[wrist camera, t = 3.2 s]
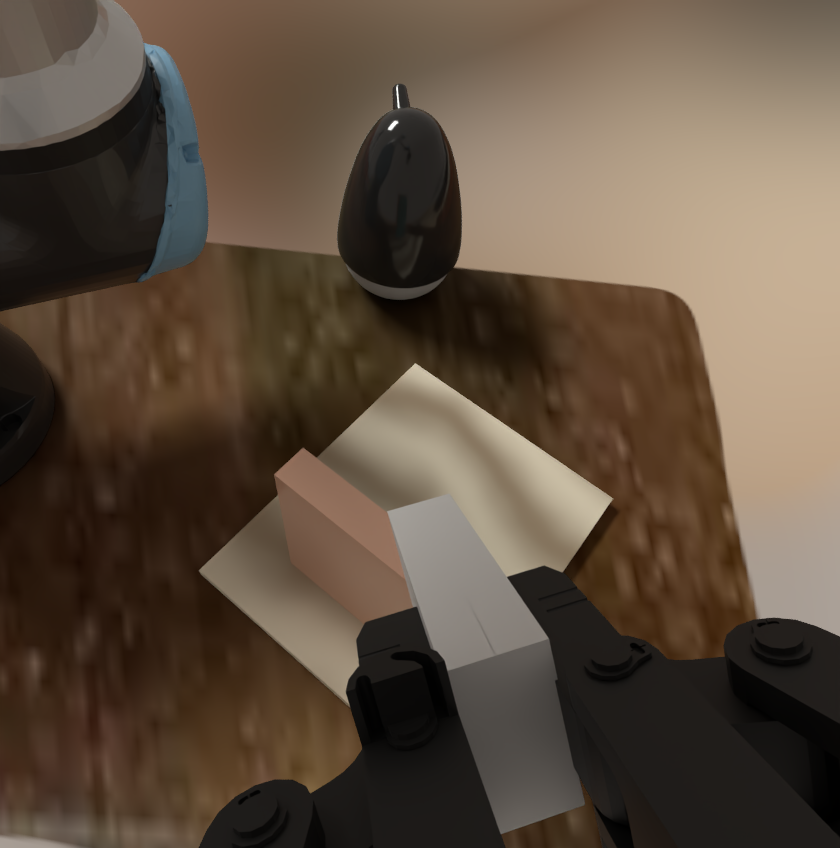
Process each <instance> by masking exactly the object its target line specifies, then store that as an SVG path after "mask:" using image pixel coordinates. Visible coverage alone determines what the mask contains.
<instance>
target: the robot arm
mask: <svg viewBox="0 0 840 848" xmlns="http://www.w3.org/2000/svg"><path fill="white" fill-rule="evenodd" d="M198 149H199V145H198V137H197V130H196V124H195V120H194V116H193V112H192V108H191V105H190V102H189V98H188V95H187V91H186V89H185V86H184V83H183V81H182V78H181V76H180V73H179V71H178V69H177V67H176V64H175V63H174V61H173V59H172V57H171V56H170V55H169V54H168V53H167V52H166V51H165V50H164V49H162V48H161V47H158V46H155V45H149V44H146V43H144V42H143V40H142V36H141V34H140V32H139V29H138V27H137V25H136V24H135V22H134V21H133V20H132V18H131V17H130V16H129V15H128V13H127V12H126V11H125V10H124V9H123V8H122V7H121V6H120V5H119V4H117V3H116V2H115V1H114V0H0V311H4V310H8V309H13V308H17V307H22V306H27V305H31V304H36V303H40V302H45V301H50V300H54V299H59V298H63V297H68V296H73V295H77V294H82V293H86V292H91V291H96V290H100V289H105V288H109V287H114V286H119V285H123V284H128V283H132V282H143V281H145V280H147V279H149V278H150V277H152V276H153V275H156V274H159V273H163V272H166V271H169V270H173V269H176V268H179V267H183V266H185V265H187V264H189V263H191V262H193V261H194V260H195V259H196V258H197V257H198V256H199V254H200V253H201V251H202V249H203V247H204V245H205V242H206V237H207V231H208V201H207V188H206V180H205V173H204V167H203V163H202V160H201V158H200V155H199V153H198ZM54 404H55V396H54V389H53V384H52V381H51V379H50V376H49V374H48V372H47V371H46V369H45V367H44V366H43V364H42V363H41V361H40V360H39V358H38V357H37V355H36V353H35V352H34V351H33V349H32V348H31V347H30V346H29V345H28V344H27V343H26V342H25V341H24V340H23V339H22V338H21V337H20V336H18V335H17V334H16V333H14V332H13V331H11V330H10V329H8V328H7V327H5V326H4V325H2V324H1V323H0V485H1V484H3V483H4V482H5V481H7V480H8V479H9V478H10V477H12V476H13V475H14V474H15V473H16V472H17V471H18V470H20V469H21V468H22V467H23V465H24V464H25V463H26V462H27V461H28V460H29V459H30V458H31V457H32V455H33V454H34V453H35V451H36V450H37V449H38V447H39V446H40V444H41V443H42V441H43V439H44V437H45V436H46V433H47V431H48V429H49V426H50V424H51V421H52V417H53V412H54ZM387 513H388V516H389V520H390V524H391V527H392V531H393V535H394V539H395V542H396V546H397V550H398V553H399V557H400V561H401V565H402V568H403V572H404V576H405V580H406V583H407V587H408V591H409V594H410V598H411V602H412V606H413V608H410V609H406V610H403V611H400V612H397V613H393V614H390V615H387V616H383V617H380V618H377V619H374V620H370V621H367V622H365V623H364V625H363V627H362V629H361V631H360V633H359V635H358V637H357V639H356V644H357V653H358V659H359V660H358V661H359V666H358V667H357V669H356V670H355V671H354V673H353V674H352V675H351V677H350V678H349V679H348V683H347V688H346V695H347V698H348V701H349V705H350V708H351V711H352V714H353V718H354V721H355V724H356V728H357V731H358V734H359V737H360V741H361V744H362V750H361V752H360V753H359V755H358V756H357V758H356V759H355V761H354V762H353V763H352V764H351V765H350V766H349V767H348V768H347V769H346V770H345V771H344V772H343V773H341V774H340V775H339V776H337V777H336V778H335V779H333V780H332V781H330V782H329V783H327V784H326V785H324V786H322V787H321V788H319V789H317V790H316V791H314V792H312V793H311V794H310V793H309V791H308V789H307V787H306V786H304V785H302V784H300V783H298V782H296V781H294V780H272V781H268V782H265V783H262V784H258V785H255V786H253V787H252V788H250V789H248V790H246V791H245V792H243V793H241V794H240V795H238V796H236V797H235V798H234V799H233V800H231V801H230V802H229V803H228V804H227V805H226V806H225V807H224V808H223V809H222V810H221V811H220V812H219V813H218V814H217V816H216V817H215V819H214V820H213V822H212V823H211V825H210V826H209V828H208V829H207V831H206V833H205V835H204V837H203V840H202V842H201V844H200V846H199V848H505V845H504V842H503V839H502V836H501V834H503V833H506V832H509V831H511V830H514V829H517V828H520V827H523V826H526V825H529V824H531V823H534V822H537V821H540V820H543V819H546V818H549V817H552V816H554V815H557V814H560V813H563V812H566V811H569V810H572V809H575V808H577V807H580V806H583V805H585V802H584V797H583V793H582V788H581V784H580V779H581V781H582V783H583V784H584V786H585V788H586V790H587V792H588V794H589V795H590V797H591V799H592V801H593V806H594V810H595V815H596V820H597V824H598V829H599V834H600V838H601V843H602V848H840V637H839V636H837V635H835V634H833V633H830V632H828V631H826V630H823V629H821V628H819V627H817V626H814V625H810V624H807V623H804V622H801V621H798V620H791V619H781V618H766V619H757V620H752V621H749V622H746V623H743V624H741V625H738V626H736V627H735V628H734V629H733V630H732V631H731V632H729V633H728V634H727V636H726V639H725V643H724V652H725V657H717V658H706V659H695V660H670V659H667V658H666V657H665V656H664V655H663V654H662V653H661V652H660V651H659V650H658V649H657V648H655V647H654V646H652V645H651V644H649V643H648V642H646V641H645V640H641V639H638V638H634V637H631V636H621V635H620V634H619V633H618V632H617V631H616V630H615V628H614V627H613V626H612V625H611V624H610V623H609V622H608V621H607V620H606V618H605V617H604V616H603V615H602V614H601V613H600V612H599V611H598V610H597V608H596V607H595V606H594V605H593V604H592V603H591V602H590V601H588V600H587V597H586V596H585V595H584V594H583V593H582V592H581V591H580V590H578V589H577V586H576V585H575V584H574V583H573V582H572V581H571V580H570V579H569V578H568V576H567V575H566V574H565V573H562V572H560V571H557V570H555V569H552V568H550V567H547V566H545V565H544V566H541V567H537V568H534V569H531V570H527V571H524V572H521V573H518V574H514V575H511V576H508V577H506V575H505V574H504V572H503V571H502V570H501V568H500V567H499V565H498V564H497V562H496V561H495V559H494V558H493V556H492V555H491V553H490V552H489V551H488V549H487V548H486V546H485V545H484V543H483V542H482V540H481V539H480V537H479V536H478V534H477V533H476V532H475V530H474V529H473V527H472V526H471V524H470V523H469V521H468V520H467V518H466V517H465V516H464V514H463V513H462V511H461V510H460V508H459V507H458V505H457V504H456V502H455V501H454V499H453V498H452V497H451V495H450V494H446V495H442V496H439V497H435V498H432V499H428V500H425V501H421V502H418V503H414V504H411V505H407V506H404V507H401V508H397V509H394V510H390V511H387ZM579 777H580V779H579Z"/></svg>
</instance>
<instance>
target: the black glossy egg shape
mask: <svg viewBox="0 0 840 848" xmlns="http://www.w3.org/2000/svg"><path fill="white" fill-rule="evenodd" d="M392 94H393V110H391V111H389V112H387V113H386V114H384V115H383V116H382V117H381V118H380V119H379V120H378V121H377V122H376V123H375V125H374V126H373V127H372V129H371V130H370V132H369V133H368V134H367V136H366V138H365V139H364V141H363V143H362V145H361V147H360V149H359V152H358V154H357V156H356V159H355V162H354V164H353V167H352V170H351V173H350V175H349V179H348V182H347V185H346V189H345V192H344V196H343V200H342V206H341V210H340V216H339V221H338V231H337V241H338V242H337V243H338V249H339V252H340V255H341V257H342V259H343V260H344V262H345V263H346V266H347V268H348V270H349V272H350V273H351V275H352V276H353V277H354V279H355V280H356V281H357V282H358V283H359V284H360V285H361V286H362V287H363V288H365V289H366V290H368V291H369V292H371V293H373V294H375V295H377V296H380V297H383V298H387V299H393V300H406V299H412V298H416V297H419V296H422V295H424V294H426V293H428V292H430V291H431V290H433V289H434V288H435V287H437V286H438V285H439V284H440V283H441V282H442V281H443V279H444V278H445V277H446V275H447V274H448V273H449V272H450V271H451V270H452V268H453V267H454V266H455V264H456V262H457V260H458V257H459V252H460V247H461V237H462V211H461V197H460V189H459V181H458V175H457V169H456V164H455V160H454V156H453V152H452V149H451V146H450V144H449V141H448V139H447V137H446V134H445V132H444V131H443V129H442V127H441V126H440V124H439V123H438V121H437V120H436V119H435V118H434V117H433V116H432V115H430V114H429V113H427V112H426V111H424V110H421V109H418V108H414V107H410V103H409V98H408V93H407V88H406V86H405V85H403V84H396V85H395V86H394V87H393V91H392Z"/></svg>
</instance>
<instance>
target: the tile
mask: <svg viewBox="0 0 840 848" xmlns="http://www.w3.org/2000/svg"><path fill="white" fill-rule="evenodd" d="M274 477H275V482H276V487H277V492H278V498H279V503H280V508H281V513H282V518H283V524H284V529H285V534H286V539H287V545H288V550H289V555H290V560H291V563H292V564H293V565H294V566H295V567H296V568H298V569H299V570H300V571H301V572H302V573H304V574H305V575H306V576H307V577H308V578H310V579H311V580H312V581H313V582H314V583H315V584H317V585H318V586H319V587H320V588H321V589H323V590H324V591H325V592H326V593H327V594H329V595H330V596H331V597H332V598H333V599H334V600H336V601H337V602H338V603H339V604H340V605H342V606H343V607H344V608H345V609H346V610H348V611H349V612H350V613H351V614H352V615H353V616H355V617H356V618H357V619H358V620H359V621H361V622H362V623H363V624H364V623H365V622H367V621H370V620H374V619H377V618H380V617H383V616H387V615H390V614H393V613H397V612H400V611H403V610H406V609H410V608H413V606H412V602H411V598H410V594H409V591H408V587H407V583H406V580H405V576H404V572H403V568H402V565H401V561H400V557H399V553H398V550H397V546H396V542H395V539H394V535H393V531H392V527H391V524H390V520H389V516H388V513H387V512H386V511H384V510H383V509H382V508H381V507H379V506H378V505H377V504H375V503H374V502H373V501H371V500H370V499H369V498H368V497H366V496H365V495H364V494H362V493H361V492H360V491H359V490H357V489H356V488H355V487H353V486H352V485H351V484H349V483H348V482H347V481H346V480H344V479H343V478H342V477H340V476H339V475H338V474H337V473H335V472H334V471H333V470H331V469H330V468H329V467H327V466H326V465H325V464H324V463H322V462H321V461H320V460H318V459H317V458H316V457H315V456H313V455H312V454H311V453H309V452H308V451H307V450H305V449H304V448H302V449H301V450H300V451H299V452H298V453H297V454H296V455H295V456H294V457H292V458H291V459H290V460H289V461H288V462H287V463H286V464H285V465H284V466H283V467H282V468H281V469H280V470H279V471H277V472H276V473H275V474H274Z"/></svg>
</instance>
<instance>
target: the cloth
mask: <svg viewBox="0 0 840 848" xmlns="http://www.w3.org/2000/svg"><path fill="white" fill-rule="evenodd" d="M317 459H318V460H320V461H321V462H322V463H324V464H325V465H326V466H327V467H329V468H330V469H331V470H333V471H334V472H335V473H337V474H338V475H339V476H340V477H342V478H343V479H344V480H346V481H347V482H348V483H349V484H351V485H352V486H353V487H355V488H356V489H357V490H359V491H360V492H361V493H362V494H364V495H365V496H366V497H368V498H369V499H370V500H371V501H373V502H374V503H375V504H377V505H378V506H379V507H381V508H382V509H383V510H384V511H386V512H387V511H390V510H394V509H397V508H401V507H404V506H407V505H411V504H414V503H418V502H421V501H425V500H428V499H432V498H435V497H439V496H442V495H446V494H450V495H451V497H452V498H453V499H454V501H455V502H456V504H457V505H458V507H459V508H460V510H461V511H462V513H463V514H464V516H465V517H466V518H467V520H468V521H469V523H470V524H471V526H472V527H473V529H474V530H475V532H476V533H477V534H478V536H479V537H480V539H481V540H482V542H483V543H484V545H485V546H486V548H487V549H488V551H489V552H490V553H491V555H492V556H493V558H494V559H495V561H496V562H497V564H498V565H499V567H500V568H501V570H502V571H503V572H504V574H505V575H506V577H508V576H511V575H514V574H518V573H521V572H524V571H527V570H531V569H534V568H537V567H541V566H544V565H545V566H547V567H550V568H552V569H555V570H557V571H560V572H562V573H563V571H564V570H565V568H566V567H567V565H568V564H569V562H570V561H571V559H572V558H573V556H574V555H575V554H576V552H577V551H578V549H579V548H580V546H581V545H582V543H583V542H584V540H585V539H586V537H587V536H588V534H589V533H590V532H591V530H592V529H593V527H594V526H595V524H596V523H597V521H598V520H599V518H600V517H601V515H602V514H603V512H604V511H605V510H606V508H607V507H608V505H609V504H610V502H611V501H612V499H613V498H611V497H610V496H608V495H607V494H606V493H604V492H603V491H601V490H600V489H598V488H597V487H595V486H594V485H592V484H591V483H589V482H588V481H587V480H585V479H584V478H582V477H581V476H579V475H578V474H576V473H575V472H573V471H572V470H570V469H569V468H568V467H566V466H565V465H563V464H562V463H560V462H559V461H557V460H556V459H554V458H553V457H551V456H550V455H549V454H547V453H546V452H544V451H543V450H541V449H540V448H538V447H537V446H535V445H534V444H532V443H531V442H530V441H528V440H527V439H525V438H524V437H522V436H521V435H519V434H518V433H516V432H515V431H513V430H512V429H511V428H509V427H508V426H506V425H505V424H503V423H502V422H500V421H499V420H497V419H496V418H494V417H493V416H491V415H490V414H489V413H487V412H486V411H484V410H483V409H481V408H480V407H478V406H477V405H475V404H474V403H472V402H471V401H470V400H468V399H467V398H465V397H464V396H462V395H461V394H459V393H458V392H456V391H455V390H453V389H452V388H451V387H449V386H448V385H446V384H445V383H443V382H442V381H440V380H439V379H437V378H436V377H434V376H433V375H432V374H430V373H429V372H427V371H426V370H424V369H423V368H421V367H420V366H418V365H417V364H414V365H413V366H412V367H411V368H410V369H409V370H408V371H407V372H406V373H405V374H404V375H403V376H402V377H401V378H400V379H399V380H398V381H396V382H395V383H394V384H393V385H392V386H391V387H390V388H389V389H388V390H387V391H386V392H385V393H384V394H383V395H382V396H381V397H380V398H379V399H378V400H377V401H376V402H375V403H373V404H372V405H371V406H370V407H369V408H368V409H367V410H366V411H365V412H364V413H363V414H362V415H361V416H360V417H359V418H358V419H357V420H356V421H355V422H354V423H353V424H351V425H350V426H349V427H348V428H347V429H346V430H345V431H344V432H343V433H342V434H341V435H340V436H339V437H338V438H337V439H336V440H335V441H334V442H333V443H332V444H331V445H330V446H328V447H327V448H326V449H325V450H324V451H323V452H322V453H321V454H320V455H319V456H318V457H317ZM199 572H200V573H201V575H202V576H203V577H204V578H205V579H207V580H208V581H209V582H210V583H211V584H212V585H213V586H214V587H216V588H217V589H218V590H219V591H220V592H221V593H222V594H223V595H224V596H226V597H227V598H228V599H229V600H230V601H231V602H232V603H233V604H235V605H236V606H237V607H238V608H239V609H240V610H241V611H242V612H243V613H245V614H246V615H247V616H248V617H249V618H250V619H251V620H252V621H254V622H255V623H256V624H257V625H258V626H259V627H260V628H261V629H262V630H264V631H265V632H266V633H267V634H268V635H269V636H270V637H271V638H273V639H274V640H275V641H276V642H277V643H278V644H279V645H280V646H282V647H283V648H284V649H285V650H286V651H287V652H288V653H289V654H290V655H292V656H293V657H294V658H295V659H296V660H297V661H298V662H299V663H301V664H302V665H303V666H304V667H305V668H306V669H307V670H308V671H309V672H311V673H312V674H313V675H314V676H315V677H316V678H317V679H318V680H320V681H321V682H322V683H323V684H324V685H325V686H326V687H327V688H328V689H330V690H331V691H332V692H333V693H334V694H335V695H336V696H337V697H339V698H340V699H341V700H342V701H343V702H344V703H345V704H346V705H348V706H349V707H350V705H349V701H348V698H347V695H346V688H347V683H348V679H349V678H350V677H351V675H352V674H353V673H354V671H355V670H356V669H357V667H358V666H359V661H358V660H359V659H358V653H357V644H356V639H357V637H358V635H359V633H360V631H361V629H362V627H363V625H364V624H363V623H362V622H361V621H359V620H358V619H357V618H356V617H355V616H353V615H352V614H351V613H350V612H349V611H348V610H346V609H345V608H344V607H343V606H342V605H340V604H339V603H338V602H337V601H336V600H334V599H333V598H332V597H331V596H330V595H329V594H327V593H326V592H325V591H324V590H323V589H321V588H320V587H319V586H318V585H317V584H315V583H314V582H313V581H312V580H311V579H310V578H308V577H307V576H306V575H305V574H304V573H302V572H301V571H300V570H299V569H298V568H296V567H295V566H294V565H293V564H292V563H291V560H290V555H289V550H288V545H287V539H286V534H285V529H284V524H283V518H282V513H281V508H280V503H279V498H278V495H277V496H276V497H275V498H274V499H273V500H272V501H271V502H270V503H269V504H268V505H267V506H266V507H265V508H264V509H263V510H262V511H261V512H259V513H258V514H257V515H256V516H255V517H254V518H253V519H252V520H251V521H250V522H249V523H248V524H247V525H246V526H245V527H244V528H243V529H242V530H241V531H240V532H239V533H238V534H236V535H235V536H234V537H233V538H232V539H231V540H230V541H229V542H228V543H227V544H226V545H225V546H224V547H223V548H222V549H221V550H220V551H219V552H218V553H217V554H216V555H214V556H213V557H212V558H211V559H210V560H209V561H208V562H207V563H206V564H205V565H204V566H203V567H202V568H201V569H200V570H199Z"/></svg>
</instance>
